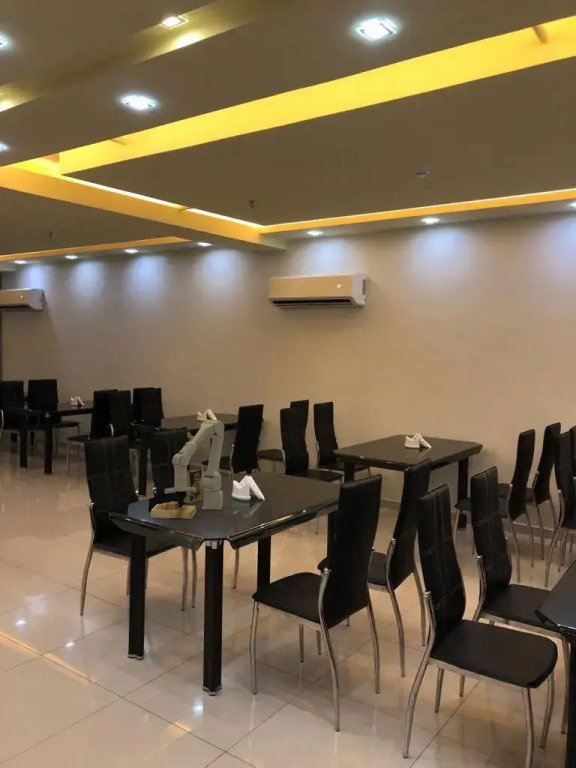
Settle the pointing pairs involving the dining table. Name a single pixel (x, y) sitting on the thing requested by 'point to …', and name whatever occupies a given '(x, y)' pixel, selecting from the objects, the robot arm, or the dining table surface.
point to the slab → (183, 512)
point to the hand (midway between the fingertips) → (180, 507)
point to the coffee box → (193, 485)
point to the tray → (160, 512)
